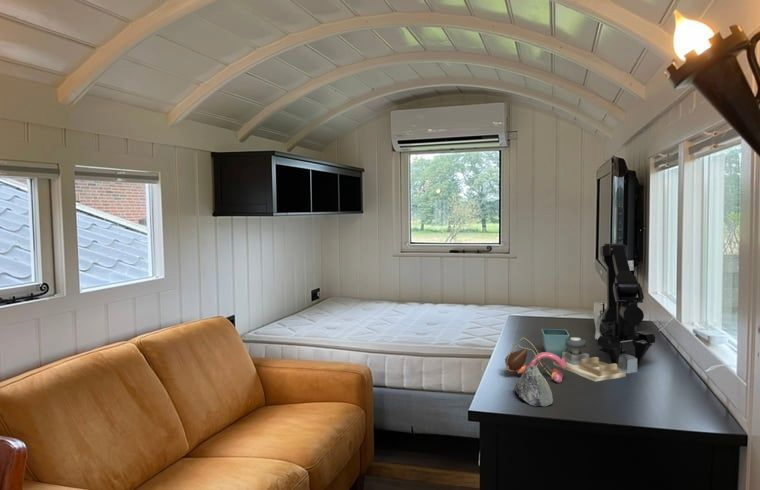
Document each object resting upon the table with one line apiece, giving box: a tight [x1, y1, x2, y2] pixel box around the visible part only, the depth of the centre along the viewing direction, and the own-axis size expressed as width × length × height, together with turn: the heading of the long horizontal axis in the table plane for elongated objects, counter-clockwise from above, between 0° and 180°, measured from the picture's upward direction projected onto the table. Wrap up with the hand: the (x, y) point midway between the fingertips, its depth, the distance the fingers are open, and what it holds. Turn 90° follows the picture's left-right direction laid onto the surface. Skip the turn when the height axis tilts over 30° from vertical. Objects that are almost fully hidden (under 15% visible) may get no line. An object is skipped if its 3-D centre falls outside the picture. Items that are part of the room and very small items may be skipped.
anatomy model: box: [504, 336, 567, 384], centre depth 167 cm, size 11×15×17 cm
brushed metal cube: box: [617, 353, 638, 374], centre depth 173 cm, size 4×5×5 cm
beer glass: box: [593, 300, 607, 341], centre depth 214 cm, size 7×7×15 cm
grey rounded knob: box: [565, 336, 587, 355], centre depth 180 cm, size 6×6×5 cm
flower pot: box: [541, 328, 570, 359], centre depth 191 cm, size 9×9×9 cm
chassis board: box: [552, 350, 627, 382], centre depth 174 cm, size 12×20×4 cm, turn 19°
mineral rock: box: [514, 365, 554, 407], centre depth 149 cm, size 13×11×10 cm
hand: (626, 365), depth 173 cm, fingers open, 9 cm apart
